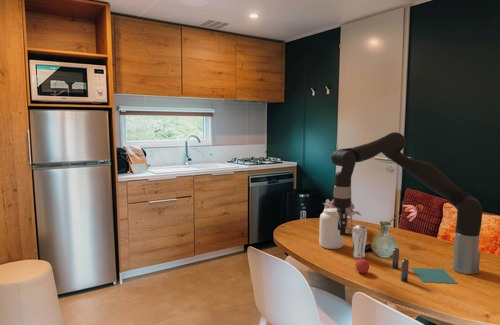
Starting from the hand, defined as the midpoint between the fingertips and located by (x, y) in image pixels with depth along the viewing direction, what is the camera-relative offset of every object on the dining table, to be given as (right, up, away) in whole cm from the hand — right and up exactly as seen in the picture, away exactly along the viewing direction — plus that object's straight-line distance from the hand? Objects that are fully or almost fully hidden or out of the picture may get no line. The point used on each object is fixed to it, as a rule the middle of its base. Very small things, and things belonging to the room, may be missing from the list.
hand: (341, 232), depth 156 cm
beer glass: (+14, -16, +20) cm, 29 cm away
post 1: (+26, -17, +6) cm, 32 cm away
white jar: (+3, -14, +35) cm, 38 cm away
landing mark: (+39, -18, -2) cm, 43 cm away
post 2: (+25, -19, -7) cm, 32 cm away
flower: (+15, -11, +60) cm, 63 cm away
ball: (+9, -15, +1) cm, 18 cm away
